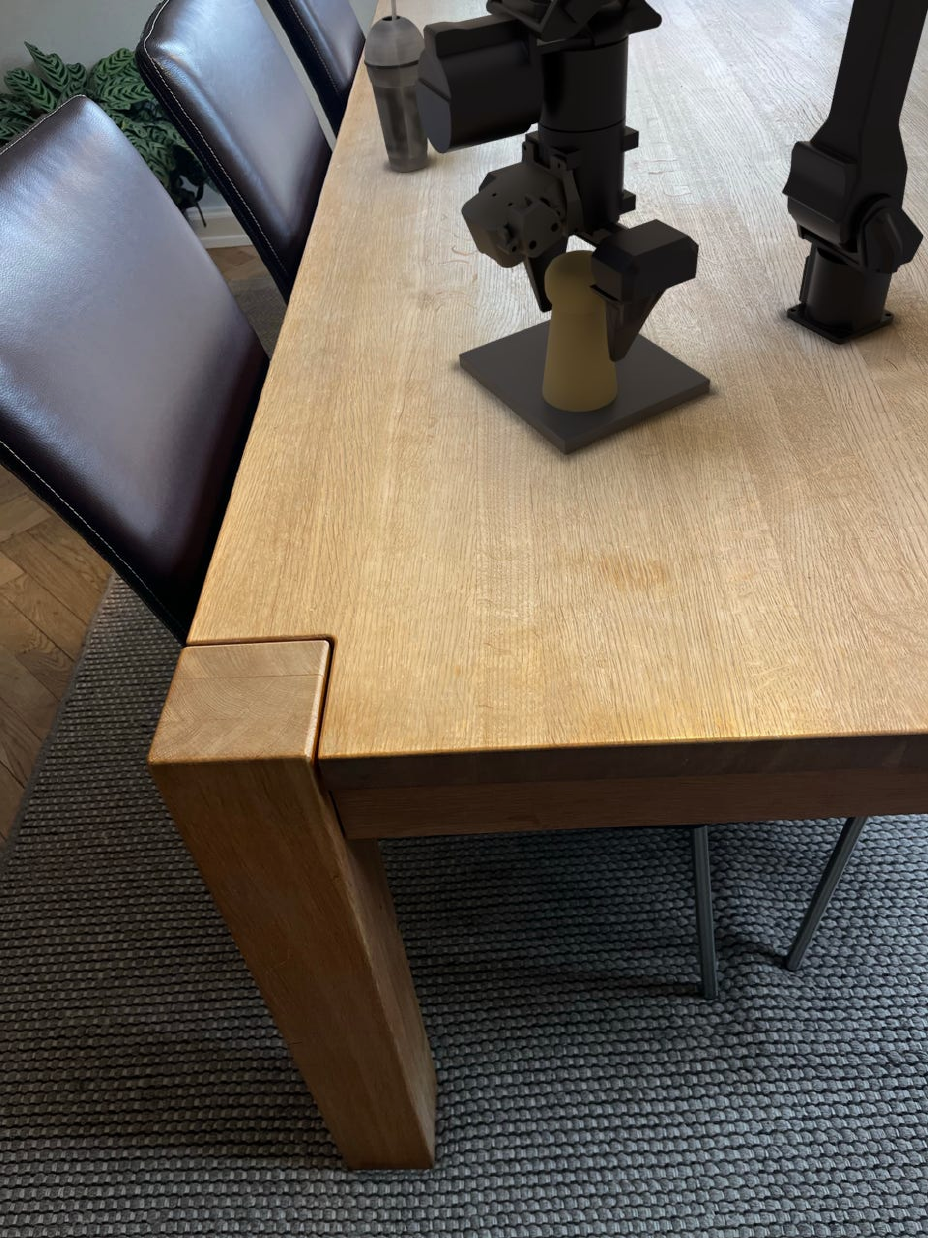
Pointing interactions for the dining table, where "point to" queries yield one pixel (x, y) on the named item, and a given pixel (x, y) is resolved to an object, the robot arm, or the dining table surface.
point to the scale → (642, 393)
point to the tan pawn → (576, 338)
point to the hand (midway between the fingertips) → (580, 334)
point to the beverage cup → (397, 89)
